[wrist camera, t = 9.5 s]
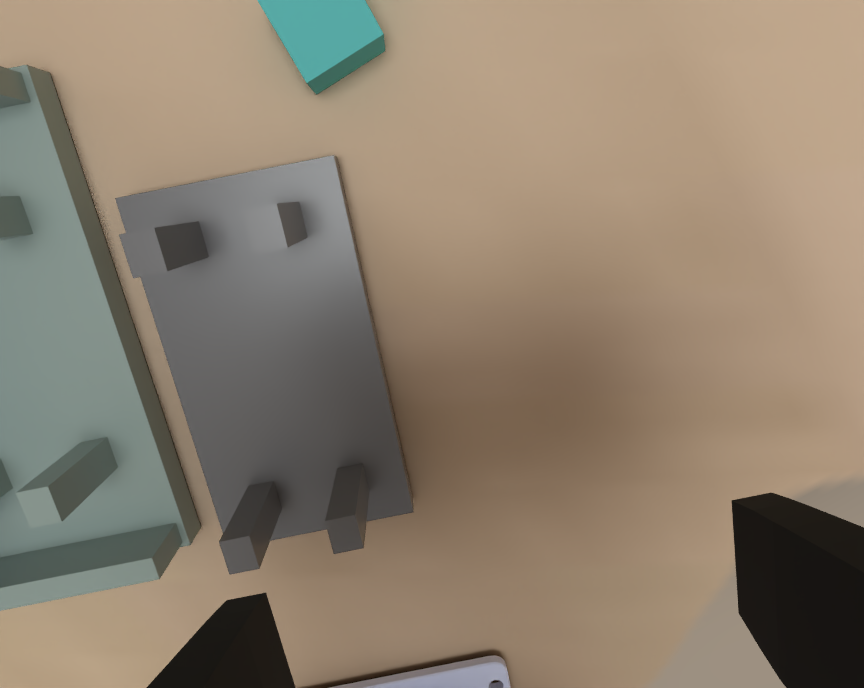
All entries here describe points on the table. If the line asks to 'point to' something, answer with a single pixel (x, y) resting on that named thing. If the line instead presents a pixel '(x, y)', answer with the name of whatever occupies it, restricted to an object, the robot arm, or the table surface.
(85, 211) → the rack
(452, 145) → the table surface
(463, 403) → the table surface
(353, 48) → the teal pixel shape
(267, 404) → the stand
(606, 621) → the table surface
